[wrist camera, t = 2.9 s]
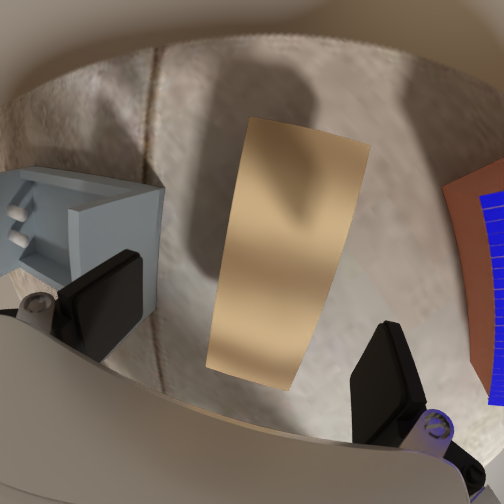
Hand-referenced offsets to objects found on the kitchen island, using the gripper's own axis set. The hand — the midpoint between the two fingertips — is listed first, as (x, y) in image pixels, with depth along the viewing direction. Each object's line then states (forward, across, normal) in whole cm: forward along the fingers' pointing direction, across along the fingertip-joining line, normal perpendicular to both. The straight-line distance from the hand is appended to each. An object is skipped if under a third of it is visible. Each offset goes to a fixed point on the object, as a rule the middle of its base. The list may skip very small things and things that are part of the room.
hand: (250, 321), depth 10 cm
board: (+8, 0, +1) cm, 8 cm away
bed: (+12, +21, +5) cm, 24 cm away
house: (+12, -22, -3) cm, 25 cm away
